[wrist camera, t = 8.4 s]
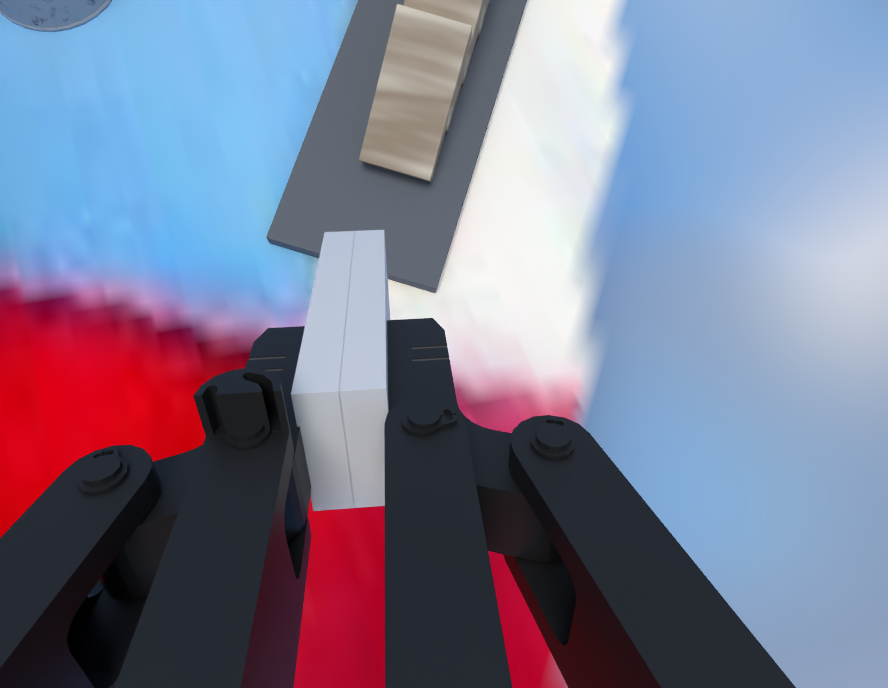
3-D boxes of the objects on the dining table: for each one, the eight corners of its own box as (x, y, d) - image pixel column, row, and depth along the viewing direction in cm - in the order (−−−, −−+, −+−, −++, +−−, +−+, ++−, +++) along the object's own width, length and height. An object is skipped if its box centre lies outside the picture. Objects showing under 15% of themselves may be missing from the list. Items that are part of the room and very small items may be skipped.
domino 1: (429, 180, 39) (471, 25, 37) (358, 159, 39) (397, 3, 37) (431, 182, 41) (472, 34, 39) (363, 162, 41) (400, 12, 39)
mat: (435, 293, 40) (435, 288, 39) (269, 243, 40) (266, 237, 39) (542, -50, 46) (544, -61, 45) (399, -92, 46) (399, -104, 45)
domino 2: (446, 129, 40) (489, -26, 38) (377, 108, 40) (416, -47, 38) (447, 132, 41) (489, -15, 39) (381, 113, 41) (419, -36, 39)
